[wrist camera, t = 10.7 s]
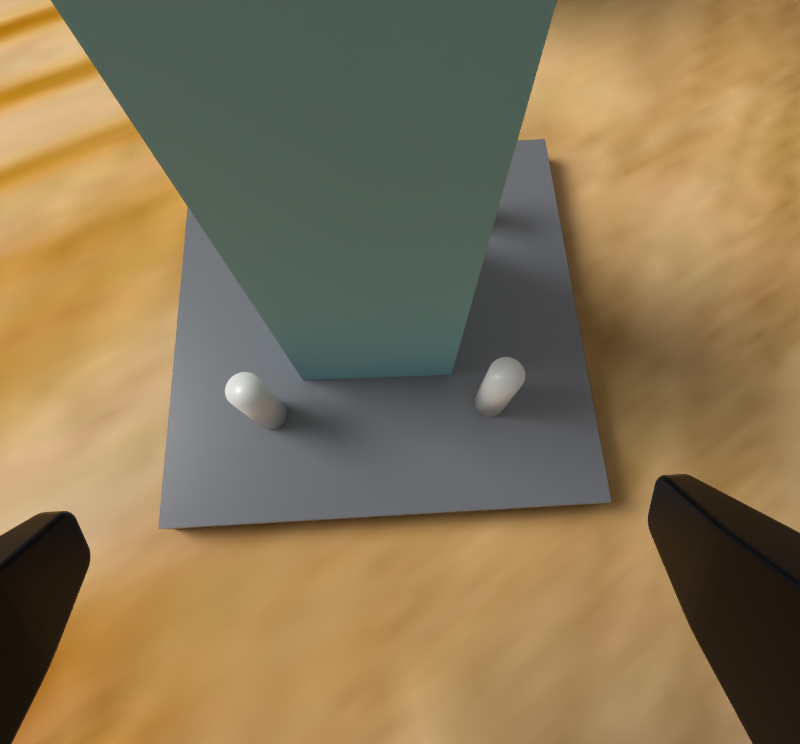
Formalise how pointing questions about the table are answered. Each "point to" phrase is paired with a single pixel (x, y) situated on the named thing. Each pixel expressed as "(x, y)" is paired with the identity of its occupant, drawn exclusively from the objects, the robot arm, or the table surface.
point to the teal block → (333, 154)
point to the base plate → (389, 397)
